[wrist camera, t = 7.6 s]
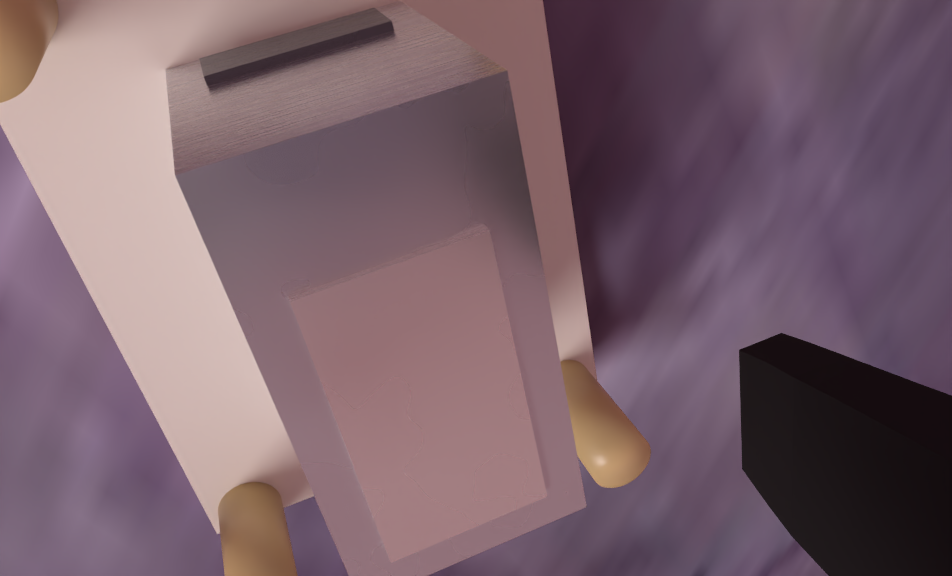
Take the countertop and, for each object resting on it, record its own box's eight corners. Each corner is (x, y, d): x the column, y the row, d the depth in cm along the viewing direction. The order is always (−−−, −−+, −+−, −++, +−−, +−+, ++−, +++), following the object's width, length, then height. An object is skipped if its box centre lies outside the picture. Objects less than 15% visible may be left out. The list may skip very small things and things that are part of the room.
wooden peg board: (581, 371, 21) (660, 469, 18) (218, 513, 20) (233, 650, 16) (497, -172, 15) (598, -174, 11) (-65, -35, 13) (-136, 11, 10)
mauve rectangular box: (485, 353, 19) (590, 512, 14) (309, 421, 18) (363, 611, 14) (398, -8, 15) (509, 61, 10) (161, 60, 14) (171, 168, 9)
